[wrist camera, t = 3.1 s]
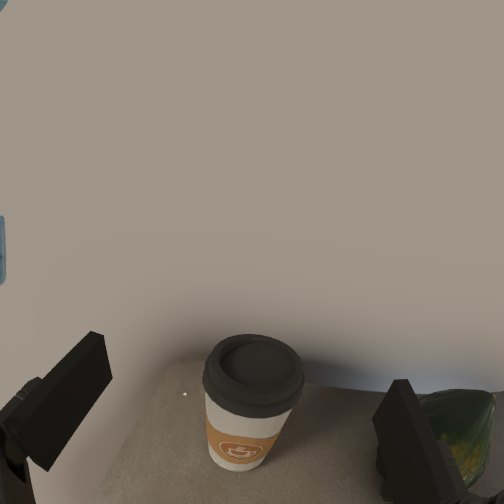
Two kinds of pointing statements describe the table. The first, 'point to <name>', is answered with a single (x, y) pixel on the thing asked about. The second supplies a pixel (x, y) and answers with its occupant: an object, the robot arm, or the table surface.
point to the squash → (457, 430)
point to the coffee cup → (249, 397)
